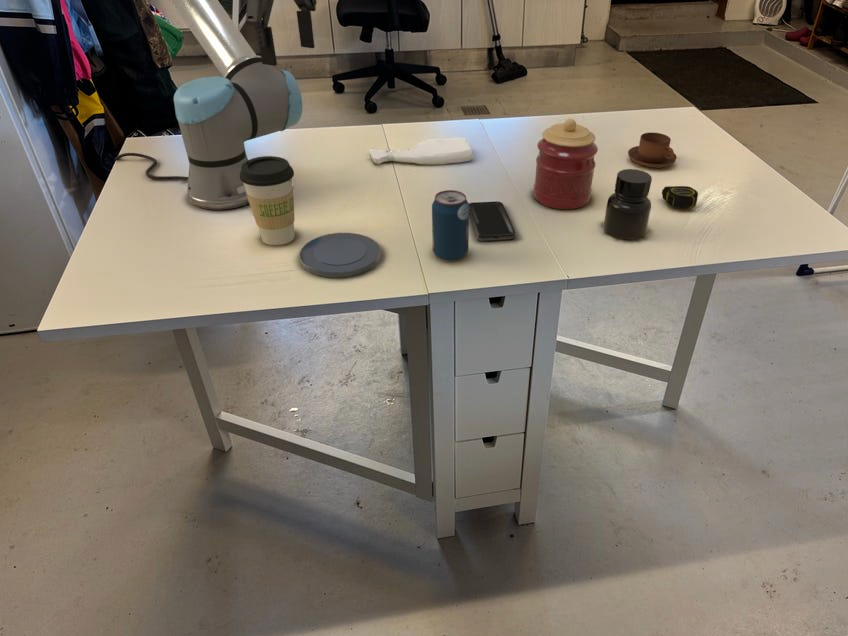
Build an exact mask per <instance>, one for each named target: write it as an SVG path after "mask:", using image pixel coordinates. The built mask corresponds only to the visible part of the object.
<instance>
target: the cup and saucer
mask: <svg viewBox="0 0 848 636" xmlns="http://www.w3.org/2000/svg"><path fill="white" fill-rule="evenodd" d="M671 141H672V139H671V137H670V136H668V135H666V134H664V133H660V132H645V133H642V134H641V135H640V138H639V143H638V145H636V146H633V147H631V148H630V149H629V150H628V151H627V155H628V157H629V158H630V159H631V161H633V162H634V163H635V164H638V165H640V166H643V167H648V168H666V167H668V166H671V165H673V164H675V162H676V161H677V158H678V157H677V155H676V153H675V152H674V151H675V150H674V149H673V148H672V147H671V146H670V144H671Z"/></svg>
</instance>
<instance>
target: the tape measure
mask: <svg viewBox="0 0 848 636" xmlns="http://www.w3.org/2000/svg"><path fill="white" fill-rule="evenodd" d="M661 197H662V199H663V200H664V201H665V202H666V204H667V205H668V206H670V207H672V208H675V209H679V210H690V209H692V208H695V206H696V204H697V201H698V197H699V192H698V191H697V190H696V189H695V188H693V187H692V186H687V185H674V186H673V185H671V186H670V185H669V186H664V187H663V188H662V190H661Z"/></svg>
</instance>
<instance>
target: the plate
mask: <svg viewBox="0 0 848 636" xmlns="http://www.w3.org/2000/svg"><path fill="white" fill-rule="evenodd" d="M299 259H300V260H299V261H300V264H301V265H302V268H304V269H305V270H306V271H307V272H309V273H311V274H313V275H315V276H318V277H322V278H331V279H342V278H350V277H354V276H358V275H359V276H360V275H362V274H364V273H367V272H368V271H371V270H372V269H373V268H374V267H376V266H377V264H378V263H379V262H380V259H381V248H380V245H379V244H378V243H377V241H375V240H374V239H373V238H371V237H369V236H367V235H364V234H360V233H354V232H333V233H328V234H323V235H320V236H317V237H315V238H313V239H311V240H309V241H308V242H306V243H305V244H304V245H303V246H302V248H301V249H300V252H299Z"/></svg>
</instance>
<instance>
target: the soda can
mask: <svg viewBox="0 0 848 636" xmlns="http://www.w3.org/2000/svg"><path fill="white" fill-rule="evenodd" d="M469 203H470V202H468V199H467V195H466V194H465V193H464V192H461V191H460V190H459V191H458V190H453V189H450V190H449V189H447V190H441V191H439V192H437V193H436V194H435V196H434V200H433V201H432V204H431V238H432V241H431V244H432V251H433V253H434V255H435V256H436V258H438V259H439V260H441V261H443V262H451V263H452V262H453V263H454V262H459V261H460V260H462V259H464V257H465V256H466V255H467V253H468V251H469V243H470V242H469V241H470V238H469V236H470V216H469Z"/></svg>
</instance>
